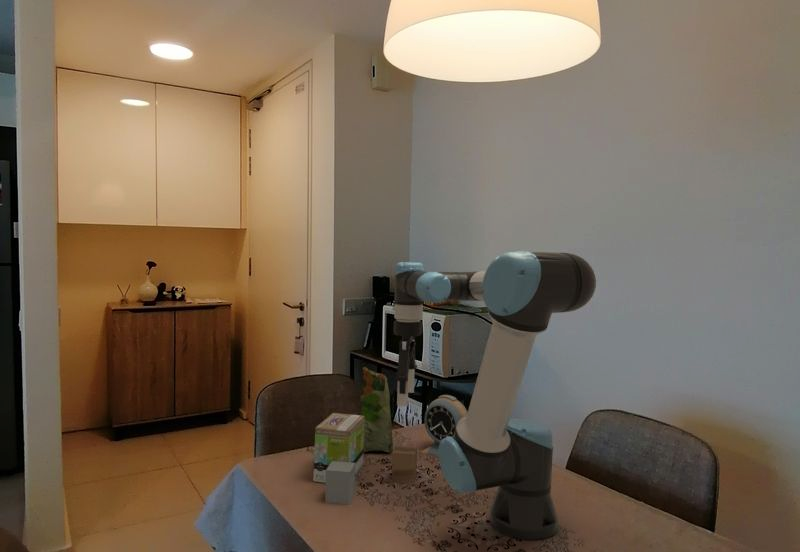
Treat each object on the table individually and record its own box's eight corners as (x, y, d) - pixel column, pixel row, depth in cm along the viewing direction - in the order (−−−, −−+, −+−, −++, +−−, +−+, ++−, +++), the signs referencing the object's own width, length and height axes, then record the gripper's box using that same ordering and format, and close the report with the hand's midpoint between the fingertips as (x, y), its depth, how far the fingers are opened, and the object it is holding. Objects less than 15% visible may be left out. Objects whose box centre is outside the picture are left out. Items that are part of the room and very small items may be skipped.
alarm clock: (417, 451, 173) (419, 394, 173) (435, 443, 181) (436, 388, 180) (457, 463, 165) (459, 403, 164) (474, 453, 173) (476, 396, 172)
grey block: (349, 504, 136) (350, 472, 136) (325, 502, 137) (325, 470, 137) (354, 494, 142) (355, 462, 142) (331, 492, 143) (332, 461, 143)
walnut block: (414, 484, 149) (414, 454, 149) (391, 482, 150) (392, 452, 150) (416, 475, 155) (417, 446, 155) (395, 473, 156) (395, 445, 156)
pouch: (387, 458, 167) (389, 374, 166) (349, 453, 170) (351, 371, 169) (397, 446, 178) (399, 367, 177) (361, 441, 181) (363, 364, 180)
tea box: (349, 486, 147) (350, 430, 146) (312, 482, 149) (313, 427, 148) (364, 465, 161) (365, 414, 161) (330, 461, 163) (331, 411, 163)
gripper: (400, 314, 164) (398, 386, 165) (386, 325, 139) (384, 410, 140) (426, 315, 163) (424, 388, 164) (416, 327, 138) (414, 412, 139)
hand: (405, 398), depth 152 cm, fingers open, 13 cm apart
